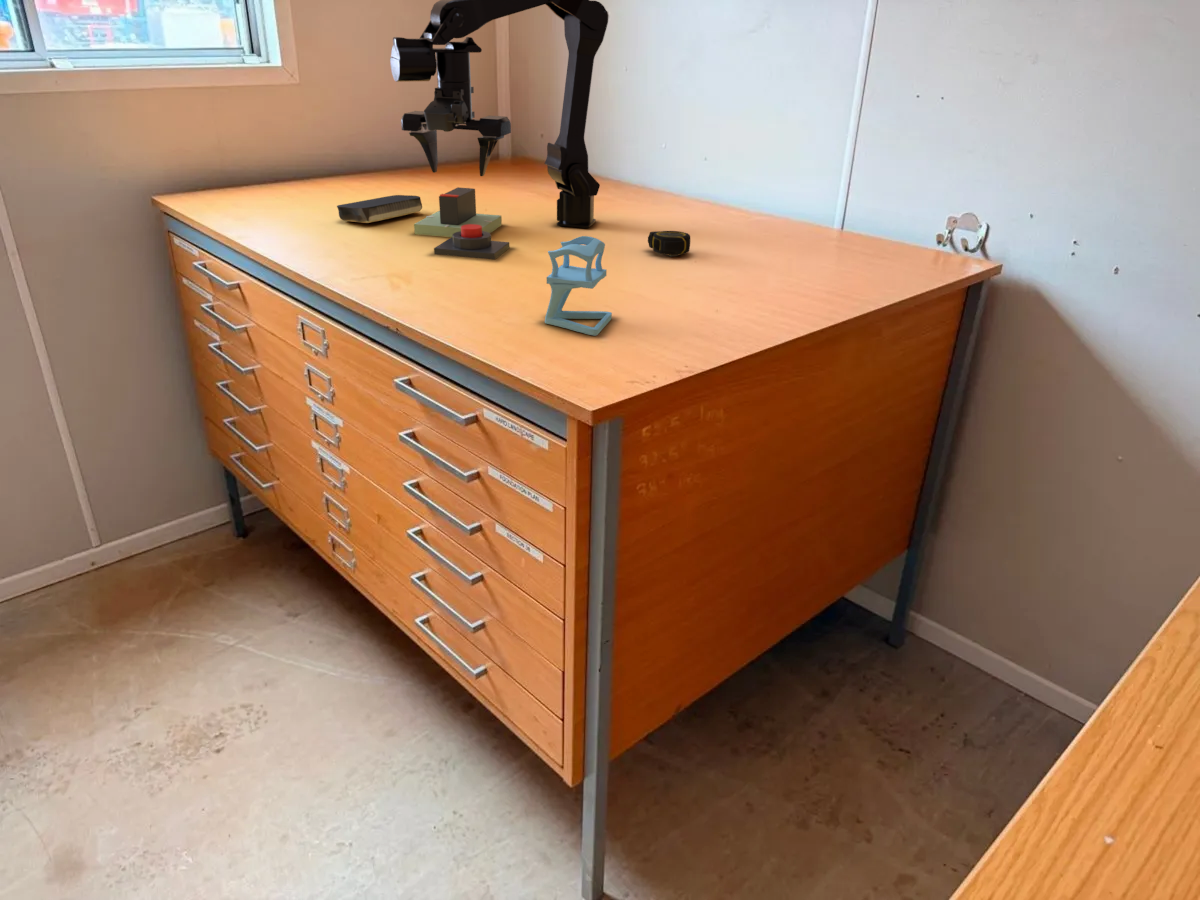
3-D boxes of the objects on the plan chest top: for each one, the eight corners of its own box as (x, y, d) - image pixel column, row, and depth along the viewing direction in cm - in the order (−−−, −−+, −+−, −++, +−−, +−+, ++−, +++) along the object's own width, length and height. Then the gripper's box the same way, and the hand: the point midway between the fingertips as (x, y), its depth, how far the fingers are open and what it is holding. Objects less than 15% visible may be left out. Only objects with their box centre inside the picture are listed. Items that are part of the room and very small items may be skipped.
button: (485, 235, 153) (484, 225, 152) (477, 239, 150) (477, 229, 149) (465, 233, 153) (465, 223, 153) (458, 238, 150) (457, 228, 150)
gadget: (459, 213, 170) (457, 185, 167) (476, 214, 169) (475, 187, 167) (440, 223, 162) (438, 194, 160) (458, 225, 161) (456, 196, 159)
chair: (557, 311, 125) (557, 227, 119) (612, 318, 123) (615, 233, 117) (538, 329, 118) (537, 241, 113) (596, 336, 116) (598, 247, 111)
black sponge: (363, 228, 165) (361, 209, 164) (334, 221, 170) (332, 202, 168) (427, 214, 177) (425, 196, 175) (398, 208, 182) (397, 190, 180)
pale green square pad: (503, 225, 171) (503, 213, 170) (479, 241, 159) (479, 229, 158) (440, 219, 173) (439, 208, 172) (412, 235, 162) (411, 223, 161)
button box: (509, 248, 155) (509, 231, 154) (494, 260, 148) (494, 242, 147) (451, 243, 157) (450, 227, 156) (434, 254, 150) (433, 237, 149)
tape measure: (683, 248, 158) (685, 228, 156) (694, 258, 152) (695, 237, 150) (647, 249, 157) (648, 228, 155) (655, 259, 151) (657, 238, 149)
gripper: (383, 81, 146) (390, 178, 153) (487, 87, 142) (490, 186, 149) (412, 77, 155) (418, 167, 163) (511, 82, 151) (512, 175, 159)
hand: (458, 174), depth 158 cm, fingers open, 9 cm apart
